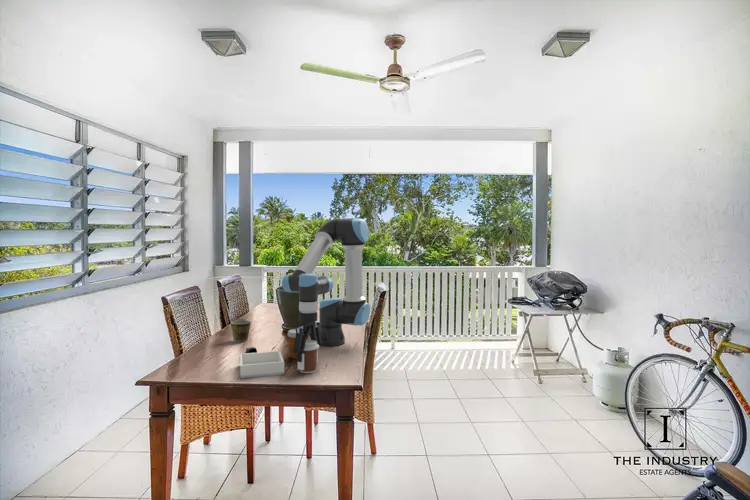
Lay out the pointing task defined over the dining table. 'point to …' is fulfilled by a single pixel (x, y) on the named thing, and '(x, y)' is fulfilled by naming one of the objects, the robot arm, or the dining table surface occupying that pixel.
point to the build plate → (251, 350)
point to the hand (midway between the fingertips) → (307, 365)
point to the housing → (261, 364)
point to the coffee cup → (310, 356)
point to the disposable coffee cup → (292, 342)
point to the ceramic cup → (240, 330)
